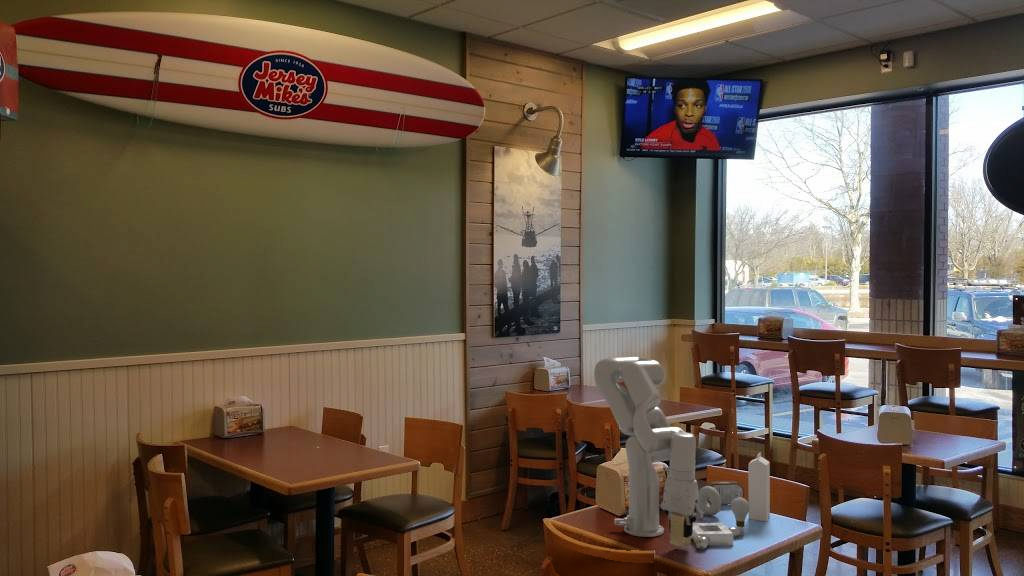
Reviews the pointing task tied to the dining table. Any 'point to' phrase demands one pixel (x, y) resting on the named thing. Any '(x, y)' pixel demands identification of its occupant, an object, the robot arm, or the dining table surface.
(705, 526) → the white square socket base
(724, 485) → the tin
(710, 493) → the donut
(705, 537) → the shaft left
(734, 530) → the shaft right
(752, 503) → the milk
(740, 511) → the light bulb
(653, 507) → the robot arm
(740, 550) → the dining table surface
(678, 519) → the block
